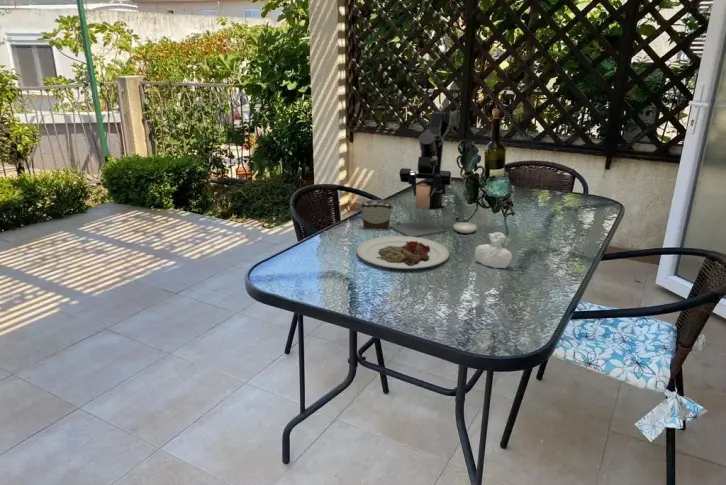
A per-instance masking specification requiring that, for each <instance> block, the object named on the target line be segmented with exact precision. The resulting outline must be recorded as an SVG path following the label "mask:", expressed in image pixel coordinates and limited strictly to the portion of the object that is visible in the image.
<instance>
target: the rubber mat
mask: <svg viewBox="0 0 726 485" xmlns="http://www.w3.org/2000/svg"><path fill="white" fill-rule="evenodd" d="M389 228H390V229H392V230H393V231H395V232H397V233H399V234H401V235H402V236H410V237H418V238H422V237H426V236H431V235H437V234H442V233H447V229H444V228H442V227H440V226H437V225H435V224H433V223H430V222H429V221H426V220H420V221H414V222H408V223H402V224H401V223H400V224H395V225H391V226H390V225H389Z"/></svg>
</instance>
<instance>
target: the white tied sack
mask: <svg viewBox="0 0 726 485" xmlns="http://www.w3.org/2000/svg"><path fill="white" fill-rule="evenodd" d="M488 237H489V241H490V244H488V243H487V244H486V243H484V244H480V245H478V246H476V248H475V251H474V253H475V254H474V256H475V260H476V261H477V262H478V263H480V264H482V265H483V266H487V267H490V268H493V269H497V268H498V269H506V268H507V267H508V266H509V264H510V262H511V260H512V259H513V255H512V252H511V251H509V250H508V248H506V247H503V246H502V244H505V240H507V237H506V235H505V234H504V233H503V232H500V231H494V232H493V233H488Z"/></svg>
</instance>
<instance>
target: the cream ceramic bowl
mask: <svg viewBox="0 0 726 485" xmlns="http://www.w3.org/2000/svg"><path fill="white" fill-rule="evenodd" d="M452 226H453V228H452V229H453V230H454V231H456V232H457V233H461V234H472V233H474V232H476V231H477V225H476V224H475V223H471V222H464V221H463V222H462V221H461V222H456V223H454V224H453V225H452Z"/></svg>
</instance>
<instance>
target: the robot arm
mask: <svg viewBox="0 0 726 485" xmlns="http://www.w3.org/2000/svg"><path fill="white" fill-rule="evenodd" d="M451 123H452V119H451V115H450V114H447V113H446V111H443V110H441V111H440V110H433V111H432V113H431V114H430V115H429V121H428V124H429V125H428V128H425V129H424V131H423V132H421V133H420V134H419V137H418V142H419V143H418V144H419V150H420V151H421V154H420V156H419V157H418V159H417V160H418V161H417V168H416V169H417V172H416V171H412V169H411V168H405V167H404V168H403V167H402V168H401V169H399V173H398V174H399V178H400V179H399V180H400V182H401V183H408V184H409V185H411V188H412V190H413V196H414V197H416V185H417V179H418V180H419V179H420V180H424V181H423V183H425V184H426V185H429V186H431V187H430V195H429V197H430V205H429V208H428V209H430V210H434V209H440V208H444V207H445V206H444V205H442V204H443V202H442V200H443V195H446V193H447V186H450V185H451V183H452V172H451V171H450V170H442V169H441V168H442V162H443V160H442V159H443V150H444V141H445V136H446V135H447V133H448V132H449V129H450V127H451V125H452V124H451Z"/></svg>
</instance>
